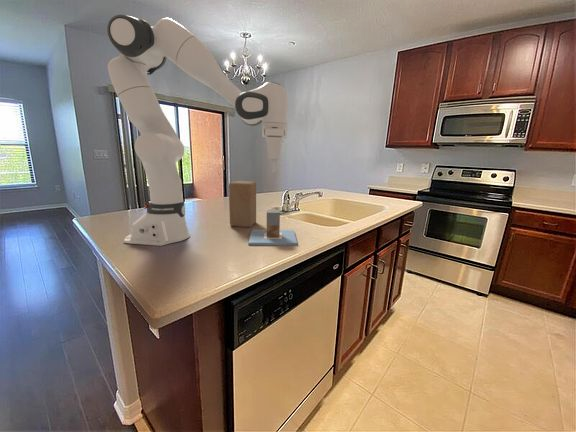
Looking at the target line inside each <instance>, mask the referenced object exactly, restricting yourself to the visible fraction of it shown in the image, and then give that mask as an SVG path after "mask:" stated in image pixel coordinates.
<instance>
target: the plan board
mask: <svg viewBox="0 0 576 432" xmlns="http://www.w3.org/2000/svg"><path fill="white" fill-rule="evenodd" d="M247 245H248V246H298V242H297V237H296V233H295V230H294V229H280V234H279V238H267V229H251V232H250V235H249V239H248V244H247Z"/></svg>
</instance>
